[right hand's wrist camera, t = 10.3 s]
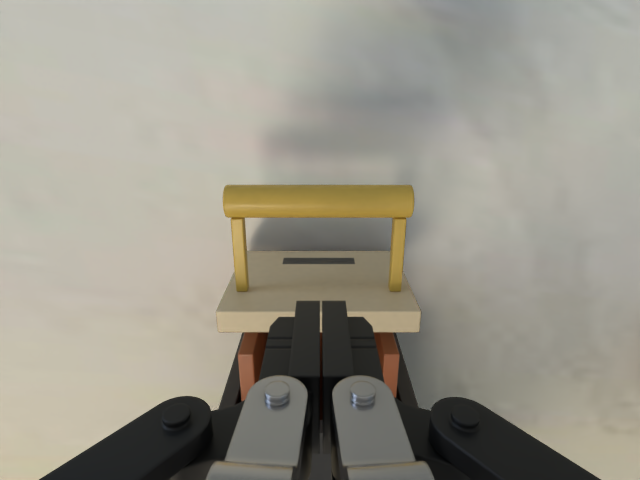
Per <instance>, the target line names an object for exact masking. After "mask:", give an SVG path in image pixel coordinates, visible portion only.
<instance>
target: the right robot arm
mask: <svg viewBox="0 0 640 480" xmlns="http://www.w3.org/2000/svg"><path fill="white" fill-rule="evenodd" d="M322 433H323V454H331V480H601V479H599V478H597V477H596V476H594V475H593V474H591V473H589V472H588V471H586V470H585V469H583V468H581V467H580V466H578V465H577V464H575V463H573V462H572V461H570V460H569V459H567V458H566V457H564V456H562V455H561V454H559V453H558V452H556V451H554V450H553V449H551V448H550V447H548V446H546V445H545V444H543V443H542V442H540V441H538V440H537V439H535V438H534V437H532V436H531V435H529V434H527V433H526V432H524V431H523V430H521V429H519V428H518V427H516V426H515V425H513V424H511V423H510V422H508V421H507V420H505V419H503V418H502V417H500V416H499V415H497V414H495V413H494V412H492V411H491V410H489V409H488V408H486V407H484V406H483V405H481V404H479V403H477V402H475V401H472V400H469V399H466V398H460V397H449V398H444V399H441V400H439V401H438V402H436V403H435V404H434V406H433V407H432V409H431V411H429V410H425V409H421V408H417V407H414V406H410V405H408V404H405V403H403V402H401V401H399V400H398V399H397V398H395V397H394V396H393V393H392V391H391V389H390V388H389V387H388V386H387V385H386V384H385V382H384V378H383V373H382V369H381V364H380V360H379V355H378V350H377V346H376V341H375V337H374V332H373V327H372V325H371V324H370V323H369V322H368V321H367V320H366V319H365V318H364V317H348V316H347V308H346V301H322ZM312 454H320V301H296V309H295V317H278V318H277V319H276V320H275V321H274V322H273V324H272V325H271V326H270V328H269V333H268V339H267V343H266V349H265V352H264V357H263V362H262V367H261V371H260V376H259V381H258V382H256V383H255V384H254V385H253V386H252V387H251V388H250V389H249V391H248V393H247V396H246V399H245V400H244V401H242V402H240V403H238V404H236V405H233V406H230V407H226V408H222V409H218V410H214V411H211V410H210V407H209V405H208V404H207V403H206V402H205V401H204V400H202V399H200V398H197V397H192V396H182V397H176V398H172V399H169V400H167V401H164V402H162V403H161V404H159V405H157V406H156V407H154V408H152V409H151V410H149V411H148V412H146V413H145V414H143V415H141V416H140V417H138V418H137V419H135V420H133V421H132V422H130V423H129V424H127V425H125V426H124V427H122V428H121V429H119V430H117V431H116V432H114V433H113V434H111V435H110V436H108V437H106V438H105V439H103V440H102V441H100V442H98V443H97V444H95V445H94V446H92V447H90V448H89V449H87V450H86V451H84V452H82V453H81V454H79V455H78V456H76V457H74V458H73V459H71V460H70V461H68V462H67V463H65V464H63V465H62V466H60V467H59V468H57V469H55V470H54V471H52V472H51V473H49V474H47V475H46V476H44V477H43V478H41V479H39V480H309V476H310V473H311V465H312Z"/></svg>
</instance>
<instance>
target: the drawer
mask: <svg viewBox="0 0 640 480" xmlns="http://www.w3.org/2000/svg"><path fill="white" fill-rule="evenodd" d="M223 209H224V213H225V216H226V217H228V218H231V229H232V242H233V255H234V268H235V272H234V274H233V276H232V278H231V280H230V282H229V284H228V287H227V289H226V291H225V293H224V295H223V297H222V300H221V302H220V304H219V306H218V308H217V310H216V318H217V329H218V332H245V333H244V336H243V339H242V343H241V346H240V349H239V352H238V364H239V376H240V388H241V401H244V400H245V399H246V396H247V393H248V391H249V389H250V388H251V387H252V386H253V385H254V384H255V383H256V382H258V381H259V376H260V371H261V367H262V362H263V357H264V352H265V349H266V343H267V339H268V333H269V328H270V326H271V325H272V324H273V322H274V321H275V320H276V319H277V318H278V317H295V309H296V301H320V420H322V301H346V308H347V316H348V317H364V318H365V319H366V320H367V321H368V322H369V323H370V324H371V325H372V327H373V332H374V337H375V341H376V346H377V350H378V355H379V360H380V364H381V369H382V373H383V378H384V382H385V384H386V385H387V386H388V387H389V388H390V389H391V391H392V393H393V396H394V397H395V398H396V393H397V381H398V368H399V356H400V354H399V351H398V348H397V344H396V341H395V338H394V334H393V332H419V330H420V320H421V310H420V308H419V306H418V303H417V301H416V299H415V297H414V295H413V292H412V290H411V288H410V286H409V284H408V281H407V279H406V277H405V275H404V272H403V259H404V245H405V232H406V218H409V217H411V216H412V214H413V209H414V191H413V187H412V186H411V185H226V186H225V188H224V192H223ZM245 218H393V220H392V236H391V251H247V246H246V231H245Z"/></svg>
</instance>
